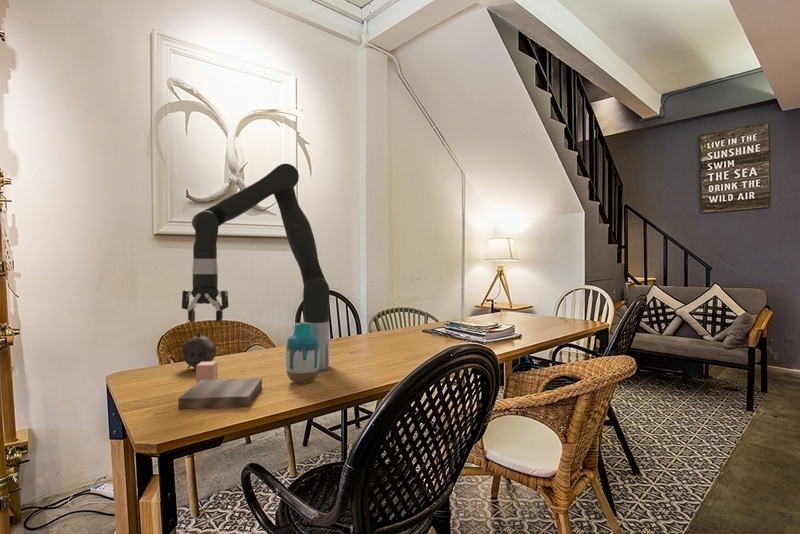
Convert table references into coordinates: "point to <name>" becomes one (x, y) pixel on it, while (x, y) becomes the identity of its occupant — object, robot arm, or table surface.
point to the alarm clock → (198, 350)
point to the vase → (302, 354)
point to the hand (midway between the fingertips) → (205, 322)
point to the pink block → (206, 371)
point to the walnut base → (220, 394)
